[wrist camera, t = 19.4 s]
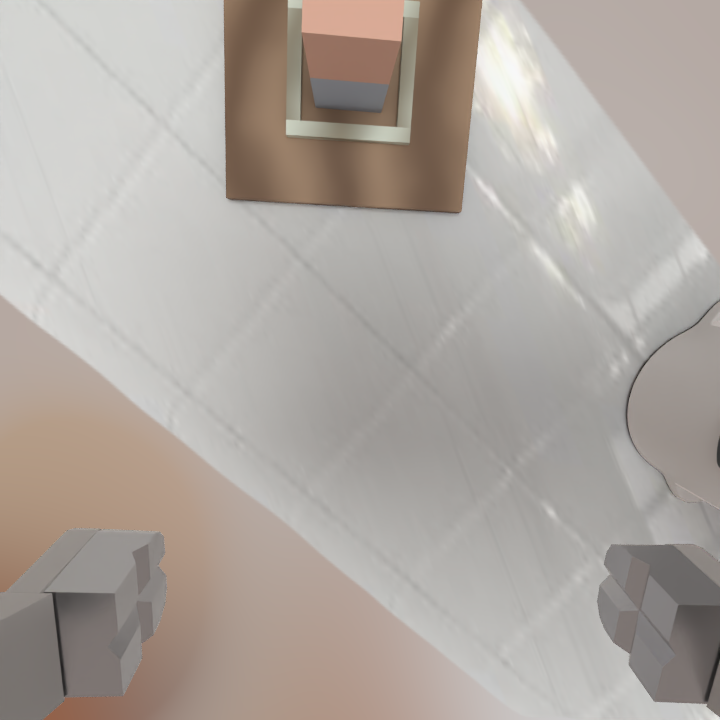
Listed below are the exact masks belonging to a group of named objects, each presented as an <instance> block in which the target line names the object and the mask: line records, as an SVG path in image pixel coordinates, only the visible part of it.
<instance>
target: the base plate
mask: <svg viewBox="0 0 720 720" xmlns="http://www.w3.org/2000/svg"><path fill="white" fill-rule="evenodd" d="M302 1H303V0H224V54H225V136H226V198H228V199H231V200H248V201H265V202H281V203H298V204H315V205H332V206H348V207H365V208H382V209H398V210H415V211H432V212H449V213H459V212H461V210H462V200H463V190H464V179H465V169H466V159H467V149H468V139H469V129H470V119H471V109H472V99H473V89H474V79H475V69H476V59H477V49H478V39H479V29H480V19H481V8H482V0H404V13H403V26H402V39H401V44H400V48H399V51H398V55H397V58H396V62H395V65H394V69H393V72H392V76H391V79H390V83H389V87H388V90H387V94H386V97H385V101H384V104H383V108H382V111H381V113H374V112H362V111H350V110H338V109H326V108H316V107H315V102H314V97H313V91H312V86H311V81H310V75H309V70H308V64H307V59H306V54H305V48H304V43H303V38H302Z"/></svg>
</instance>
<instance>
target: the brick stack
mask: <svg viewBox="0 0 720 720" xmlns="http://www.w3.org/2000/svg"><path fill="white" fill-rule="evenodd" d="M403 13H404V0H303V1H302V38H303V43H304V48H305V54H306V59H307V64H308V70H309V75H310V81H311V86H312V91H313V97H314V102H315V107H316V108H326V109H338V110H350V111H362V112H374V113H381V111H382V108H383V104H384V101H385V97H386V94H387V90H388V87H389V83H390V79H391V76H392V72H393V69H394V65H395V62H396V58H397V55H398V51H399V48H400V44H401V39H402V26H403Z"/></svg>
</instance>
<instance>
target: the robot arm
mask: <svg viewBox="0 0 720 720" xmlns="http://www.w3.org/2000/svg"><path fill="white" fill-rule="evenodd" d="M627 419H628V428H629V432H630V436H631V439H632V441H633V443H634V445H635V447H636V449H637V450H638V452H639V453H640V455H641V456H642V457H643V458H644V459H645V460H646V461H647V462H648V463H649V464H651V465H652V466H653V467H655V468H656V469H657V470H659V471H660V472H661V473H662V474H663V475H664V477H665V479H666V481H667V484H668V486H669V488H670V490H671V491H672V493H673V494H674V495H675V496H676V497H677V498H679V499H681V500H683V501H684V502H687V503H694V502H701V501H705V502H706V503H708V504H710V505H712V506H713V507H715V508H717V509H719V510H720V301H719V302H718V303H717V304H716V305H714V306H713V307H712V308H711V309H710V311H709V312H708V313H707V314H706V315H705V316H704V317H703V318H702V320H701V321H700V322H699V323H698V324H697V325H695V326H694V327H692V328H691V329H689V330H687V331H685V332H684V333H682V334H680V335H678V336H676V337H675V338H673V339H672V340H670V341H669V342H667V343H666V344H665V345H664V346H662V347H661V348H660V349H659V350H658V351H657V352H656V353H655V354H654V355H653V356H652V357H651V358H650V359H649V360H648V362H647V363H646V364H645V366H644V367H643V368H642V370H641V372H640V373H639V375H638V377H637V379H636V381H635V383H634V386H633V388H632V391H631V394H630V398H629V403H628V412H627ZM164 554H165V548H164V537H163V535H162V534H161V533H160V532H155V531H134V530H113V529H103V530H101V529H86V528H84V529H83V528H74V529H71V530H67V531H66V532H65V533H64V534H63V535H62V536H61V537H60V538H59V539H58V540H57V541H56V542H55V543H54V544H53V545H52V546H51V547H50V548H49V549H48V550H47V551H46V552H45V553H44V554H43V555H42V556H41V557H40V558H39V559H38V560H37V561H36V562H35V563H34V564H33V565H32V566H31V567H30V568H29V569H28V570H27V571H26V572H25V573H24V574H23V575H22V576H21V577H20V578H19V579H18V580H17V581H16V582H15V583H14V584H13V585H12V586H11V587H10V588H9V589H8V590H7V591H6V592H0V720H43V719H44V718H45V717H46V716H47V715H48V714H50V713H51V712H52V711H53V710H54V709H55V708H57V707H58V706H59V705H60V704H61V703H62V702H64V697H97V696H98V697H102V696H123V695H124V693H125V691H126V689H127V687H128V685H129V683H130V681H131V679H132V677H133V675H134V673H135V671H136V669H137V667H138V665H139V663H140V661H141V659H142V646H141V643H143V642H145V641H146V640H147V639H149V638H150V637H151V636H153V635H154V633H155V631H156V628H157V626H158V624H159V622H160V620H161V616H162V612H163V608H164V605H165V600H166V590H167V584H166V575H165V573H164V572H163V571H162V570H161V569H160V567H159V566H158V565H159V563H160V561H161V560H162V558H163V556H164ZM604 565H605V567H606V568H607V570H608V572H609V574H610V575H609V576H608V577H607V578H606V579H605V580H604V581H603V582H602V583H601V584H600V587H599V594H598V600H597V602H598V609H599V615H600V619H601V621H602V624H603V626H604V629H605V631H606V632H607V634H608V635H609V637H610V638H611V640H612V641H613V643H615V644H616V645H618V646H619V647H621V648H622V649H624V650H625V651H626V652H628V653H629V654H630V655H629V666H630V668H631V669H632V670H633V672H634V673H635V675H636V676H637V678H638V679H639V680H640V682H641V683H642V685H643V686H644V688H645V689H646V691H647V692H648V693H649V695H650V696H651V698H652V699H653V701H654V702H675V703H699V704H707V707H708V708H709V709H710V710H711V711H713V712H714V713H715V714H716V715H718V716H719V717H720V562H719V561H718V560H716V559H715V558H714V557H713V556H711V555H710V554H709V553H708V552H707V551H705V550H704V549H703V548H701V547H698V546H696V545H693V544H666V545H611V546H610V548H609V549H608V551H607V553H606V558H605V562H604Z"/></svg>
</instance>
